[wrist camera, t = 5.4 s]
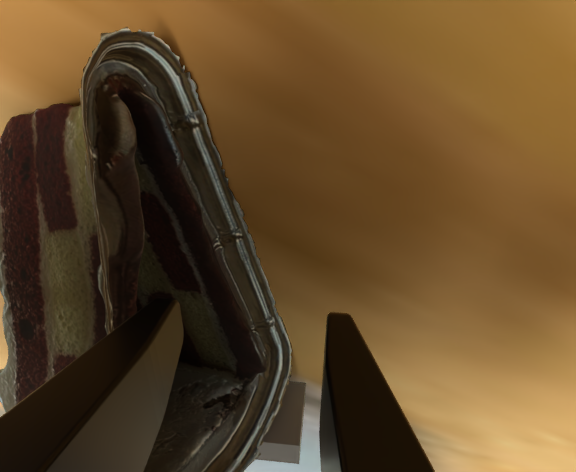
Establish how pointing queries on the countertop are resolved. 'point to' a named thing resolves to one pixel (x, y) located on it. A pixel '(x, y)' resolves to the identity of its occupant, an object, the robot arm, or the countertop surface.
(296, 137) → the countertop surface
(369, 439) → the robot arm
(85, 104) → the dark piece
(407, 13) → the countertop surface
